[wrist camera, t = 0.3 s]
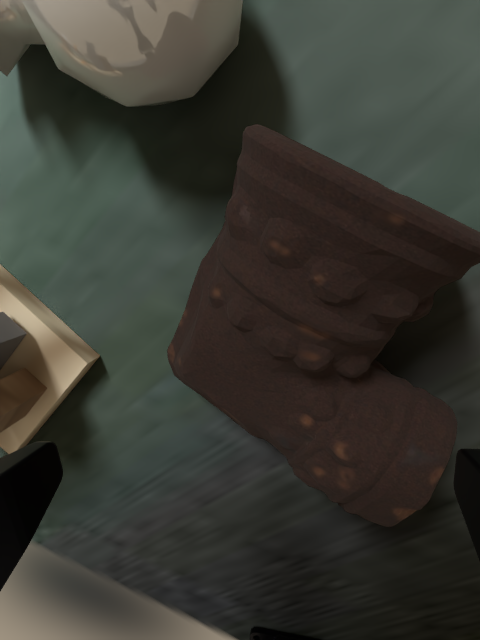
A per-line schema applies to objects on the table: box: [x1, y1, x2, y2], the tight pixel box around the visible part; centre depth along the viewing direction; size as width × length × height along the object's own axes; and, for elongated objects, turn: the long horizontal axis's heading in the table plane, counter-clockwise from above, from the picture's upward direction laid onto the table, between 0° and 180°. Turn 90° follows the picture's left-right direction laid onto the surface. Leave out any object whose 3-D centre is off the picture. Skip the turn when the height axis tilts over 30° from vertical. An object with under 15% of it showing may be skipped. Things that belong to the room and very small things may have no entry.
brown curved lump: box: [167, 124, 480, 527], centre depth 19 cm, size 10×15×15 cm
